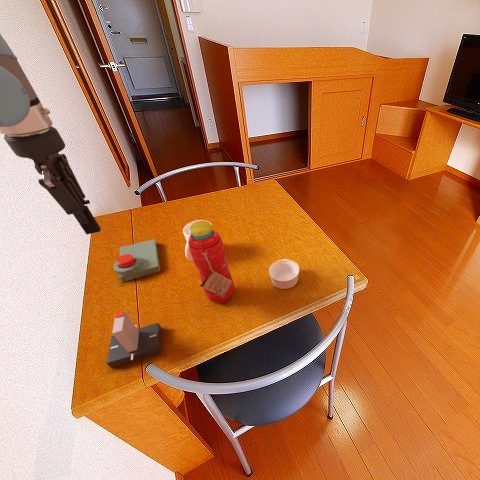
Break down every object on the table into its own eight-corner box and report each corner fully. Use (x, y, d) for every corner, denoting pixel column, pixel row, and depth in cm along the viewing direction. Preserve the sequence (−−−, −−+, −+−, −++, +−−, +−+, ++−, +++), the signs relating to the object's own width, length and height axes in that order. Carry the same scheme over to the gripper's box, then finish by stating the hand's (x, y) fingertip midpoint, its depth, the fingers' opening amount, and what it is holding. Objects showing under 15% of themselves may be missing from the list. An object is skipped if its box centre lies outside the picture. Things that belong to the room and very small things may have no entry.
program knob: (137, 349, 62) (121, 329, 57) (128, 352, 61) (111, 332, 56) (139, 331, 65) (124, 310, 60) (130, 333, 65) (115, 313, 60)
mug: (203, 272, 84) (194, 247, 77) (179, 266, 85) (168, 241, 78) (223, 246, 93) (217, 222, 86) (201, 242, 94) (193, 217, 87)
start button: (135, 265, 80) (132, 260, 79) (119, 270, 78) (116, 265, 77) (135, 257, 83) (132, 252, 81) (120, 261, 81) (116, 256, 80)
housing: (160, 271, 83) (156, 262, 81) (119, 283, 79) (113, 274, 77) (157, 243, 93) (152, 234, 90) (120, 253, 89) (114, 244, 86)
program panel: (110, 373, 60) (105, 367, 59) (116, 337, 67) (111, 331, 65) (161, 357, 63) (157, 351, 62) (162, 324, 70) (158, 318, 68)
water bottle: (239, 313, 73) (220, 242, 57) (207, 320, 71) (178, 249, 55) (235, 280, 82) (218, 210, 66) (207, 286, 80) (182, 215, 64)
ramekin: (271, 268, 86) (270, 258, 83) (300, 268, 86) (299, 258, 83) (268, 291, 79) (267, 281, 76) (299, 291, 80) (299, 281, 77)
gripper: (48, 139, 47) (111, 243, 62) (60, 117, 56) (112, 213, 71) (-10, 146, 44) (70, 252, 60) (12, 121, 53) (77, 220, 68)
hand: (93, 231), depth 65 cm, fingers closed
